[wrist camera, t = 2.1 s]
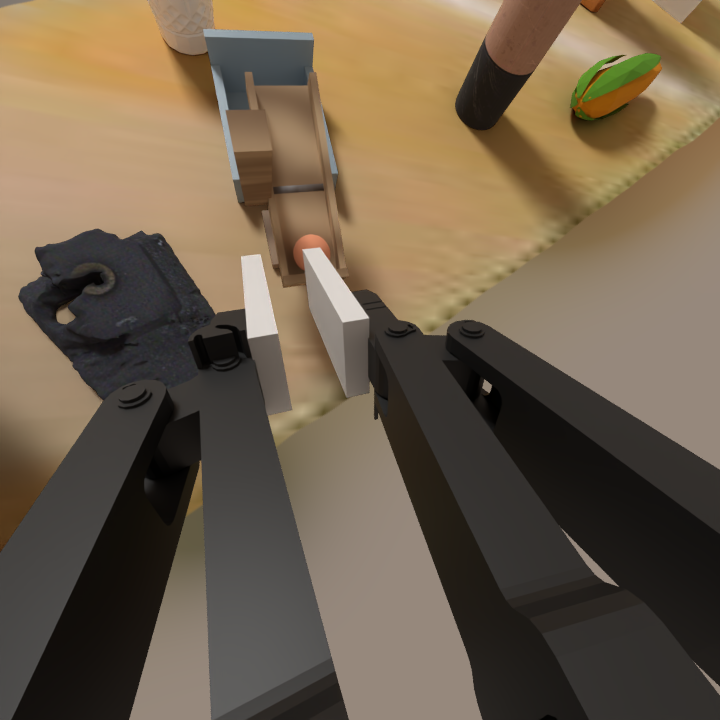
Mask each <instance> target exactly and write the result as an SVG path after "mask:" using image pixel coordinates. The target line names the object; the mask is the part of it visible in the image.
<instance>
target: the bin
mask: <svg viewBox="0 0 720 720" xmlns="http://www.w3.org/2000/svg"><path fill="white" fill-rule="evenodd" d="M203 31H204V36H205V41H206V45H207V50H208V54H209V59H210V63H211V68H212V74H213V79H214V84H215V89H216V94H217V99H218V105H219V110H220V115H221V120H222V125H223V130H224V136H225V141H226V146H227V151H228V156H229V162H230V167H231V172H232V177H233V182H234V186H235V190H236V195H237V199H238V203H239V202H244V197H243V193H242V188H241V184H240V179H239V174H238V170H237V165H236V161H235V156H234V151H233V146H232V141H231V136H230V131H229V126H228V121H227V116H226V111H225V110H250V108H249V103H248V97H247V92H246V82H245V72H252V76H253V81H254V86H307V84H308V78H309V72H314V71H313V67H312V63H313V47H314V39H313V34H312V33H298V32H271V31H244V30H217V29H203ZM320 101H321V100H320ZM321 107H322V105H321ZM322 114H323V120H324V127H325V133H326V140H327V146H328V153H329V159H330V165H331V172H332V178H333V182H334V186H335V187H336V181H337V176H338V171H337V167H336V163H335V159H334V154H333V150H332V146H331V142H330V138H329V134H328V130H327V125H326V121H325V117H324V113H323V109H322Z"/></svg>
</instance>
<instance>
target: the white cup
mask: <svg viewBox="0 0 720 720" xmlns="http://www.w3.org/2000/svg"><path fill="white" fill-rule="evenodd" d="M147 1H148V3H149V6H150V8H151V10H152V12H153V14H154V16H155V19H156V22H157V25H158V27H159V30H160V33H161V36H162V37H163V39H164V40H165V41H166V43H167V44H168V45H169V46H170V47H171V48H173V49H175V50H176V51H178V52H180V53H184V54H189V55H198V54H204V53H206V52H207V51H208V50H207V45H206V41H205V36H204V31H203V29H215V26H214V17H213V4H212V0H147Z"/></svg>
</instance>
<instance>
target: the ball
mask: <svg viewBox="0 0 720 720" xmlns="http://www.w3.org/2000/svg"><path fill="white" fill-rule="evenodd" d="M319 247H320V248H321V250H322V251H323V252H324V254H325V255H326V257H327V258H328V260H330V248H329V246H328V244H327V242H326V241H325V240H324V239H323V238H321V237H320V236H317V235H313V234H309V235H305V236H303V237H301V238H300V239H299V240H298V241H297V242H296V244H295V246H294V250H293V255H294V260H295V262H296V264H297V265H298V266H299V267H300V268H301V269H302V270H304V271H305V268H304V259H303V251H302V249H311V248H319Z"/></svg>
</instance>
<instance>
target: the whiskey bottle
mask: <svg viewBox="0 0 720 720" xmlns="http://www.w3.org/2000/svg"><path fill="white" fill-rule="evenodd" d="M604 2H605V0H582V1H581V4H582V5H584V6H585V7H586V8H588V9H589V10H590V11H592V12H598V10H599V9H600V7H601V6H602V5H603V3H604Z"/></svg>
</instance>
